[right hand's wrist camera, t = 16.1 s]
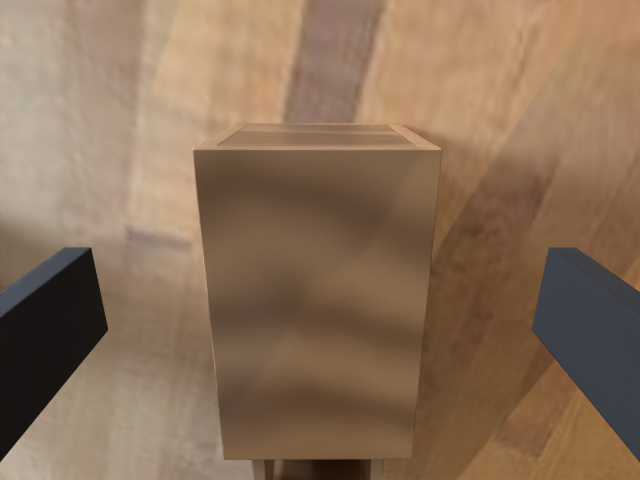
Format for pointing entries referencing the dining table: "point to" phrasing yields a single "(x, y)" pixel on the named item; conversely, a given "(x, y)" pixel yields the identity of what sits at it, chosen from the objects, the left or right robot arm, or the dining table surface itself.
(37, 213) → the dining table surface
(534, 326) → the right robot arm
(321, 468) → the drawer
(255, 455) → the cabinet
